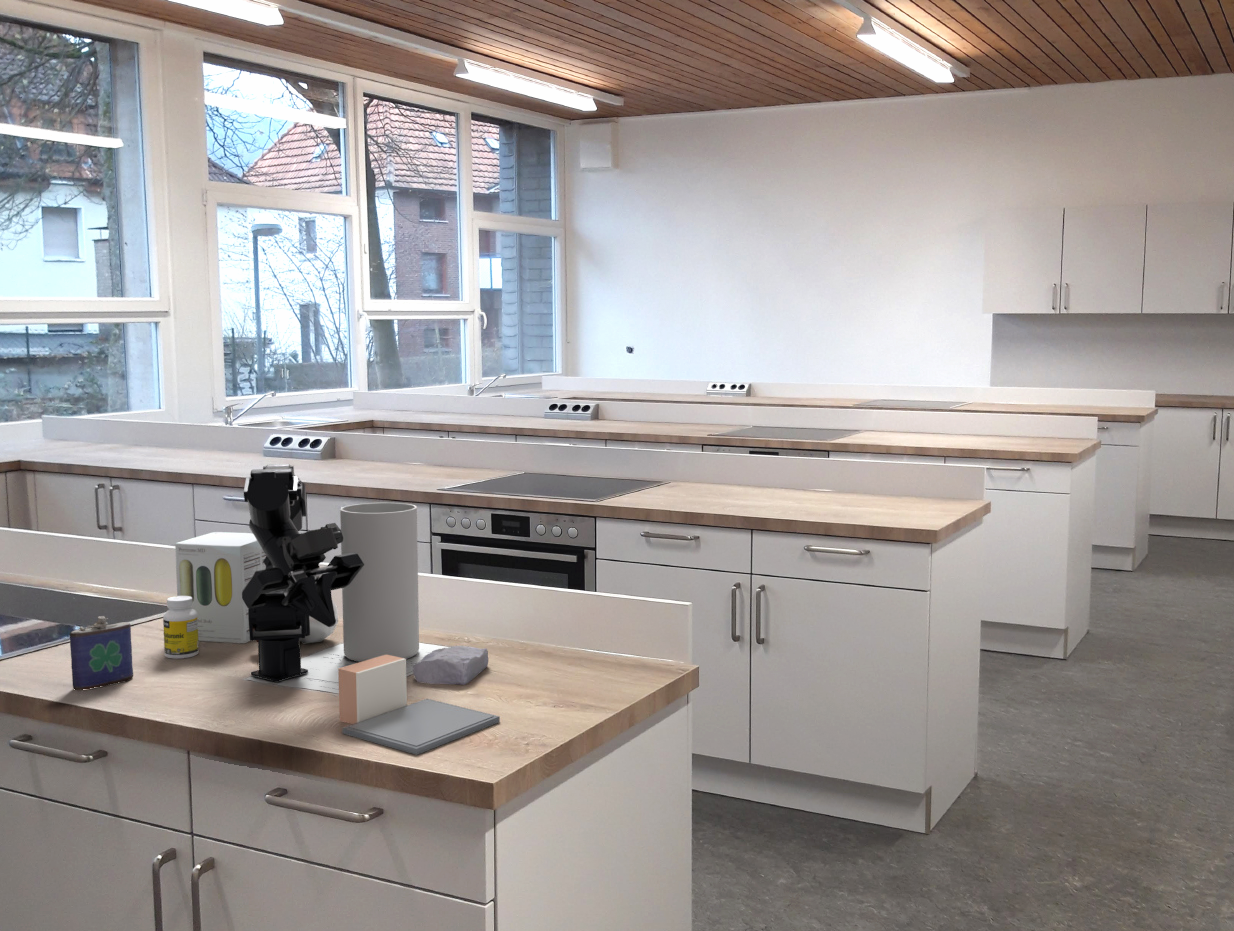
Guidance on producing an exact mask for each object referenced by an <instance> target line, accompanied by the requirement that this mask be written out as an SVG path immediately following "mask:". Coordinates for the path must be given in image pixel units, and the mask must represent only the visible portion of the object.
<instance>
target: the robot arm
mask: <svg viewBox="0 0 1234 931" xmlns="http://www.w3.org/2000/svg"><path fill="white" fill-rule="evenodd" d="M294 466H295V465H291V464H289V463H282V464H281V463H279V464H276V463H275V464H267V465H264V466H263V467H262V468H260V469H254V468H253V469H251V471H250V474H249V475H250V476H246V477H245V482H244V488H243V499H244V502H245V503H247V505H248V510H249V516H250V520H249V524H248V527H249V530H250V531H251V533H253V534H254V536H255V538H256V539H257V541H258V543H259V544H260V546H261V548H262V549H263V551H264V552H265V554H266V558H265V559H264V560H263V562H264V564H265V565H266V569H265V570H260V571H255V573H254V574H253V576H252V577H251V579H250V580H249V582H248V583H247V584H246V586H245V587H244V589H243V591H242V599H243V601H244V602H245V604H246V606H247V607H248V618H249V633H250V641H249V642H254V641H256V640H258V643H257V653H258V657H257V658H258V669H257V670H253V671H251V672H250V676H252V677H256V678H260V679H264V680H266V681H271V682H280V681H285V680H287V679H291V678H294V677H298V676H302V675H305V674H308V673H309V670H308V669H307V668H303V667H302V659H301V658H302V657H301V654H302V652H301V650H302V649H301V647H300V641H299V638H305V636H309V635H310V618H309V616H310V617H312V618H314V619H315V620H317V621H319V622H321V623H322V624H324V625H326V626H327V627H332V626H334V624H335V623H336V619H335V614H334V608H333V603H332V600H333V598H332V597H333V596H332V591H334V590H339V589H342V588H344V587H346V586H348V585H349V584H350V583H351V582H352V580H353V579H354V578H355V576H356V575H357V574H358V572H359V571H360V570H361V568H362V567H363V566H364V563H363V561H362V560H361V558H360V557H359V555H358V554H357V553H347V554H342V555H341V554H338V555H334V557H333V558H332V559H331V560H330V561H329V563H328V564H327V566H322V567H320V564H321V563H323V562H325V560H326V559H327V558H326V556H325V554H326V553H329V552H330V551H332V550H337V549H338V548H339V546H338V545H339V544H341V542H343V535H342V532H341V527H339V526H338V524H337V523H336V522H330V523H326V524H325V525H324V526H320V528H318V529H312V530H308V531H306V532H303V533H302V532H301V533H300V530H302V529H303V521H304V520H303V517H304V518H305V517H307V491H306V485H305V483H304V482H303V481H302V480H301V479H300V477H299V475H295V467H294ZM300 626H301V628H300Z"/></svg>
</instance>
